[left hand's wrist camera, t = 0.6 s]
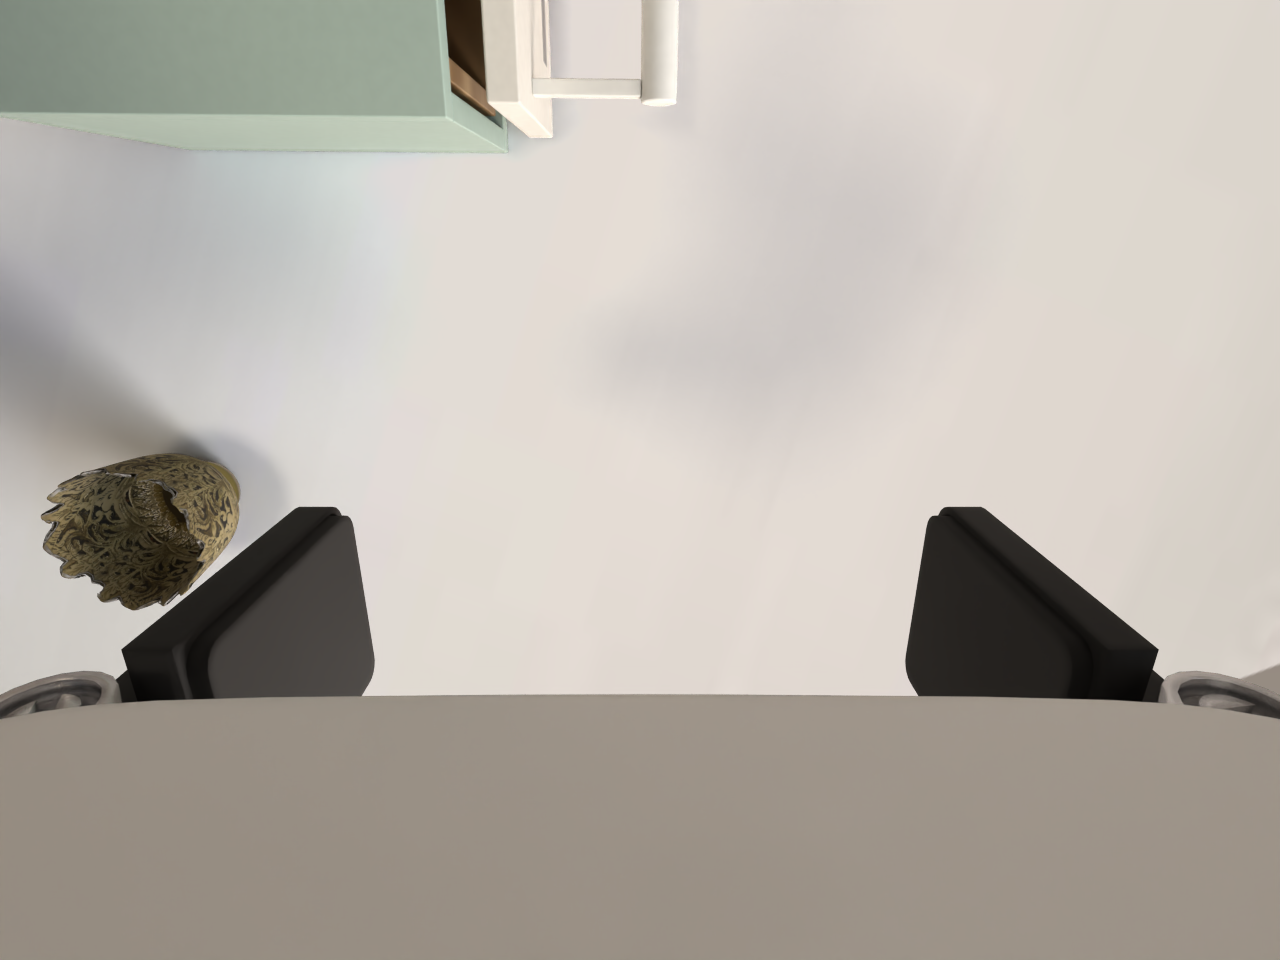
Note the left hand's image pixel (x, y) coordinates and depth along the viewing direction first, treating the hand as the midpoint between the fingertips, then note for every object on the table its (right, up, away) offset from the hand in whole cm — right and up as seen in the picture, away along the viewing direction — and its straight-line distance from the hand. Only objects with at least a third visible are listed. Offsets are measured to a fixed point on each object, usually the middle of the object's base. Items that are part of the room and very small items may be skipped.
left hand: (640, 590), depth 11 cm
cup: (-25, +2, +30) cm, 39 cm away
